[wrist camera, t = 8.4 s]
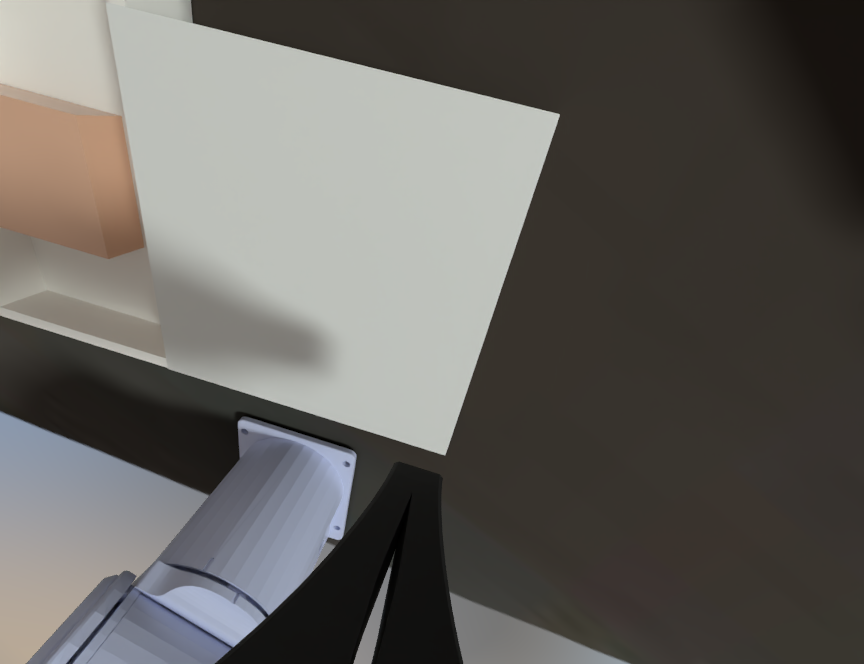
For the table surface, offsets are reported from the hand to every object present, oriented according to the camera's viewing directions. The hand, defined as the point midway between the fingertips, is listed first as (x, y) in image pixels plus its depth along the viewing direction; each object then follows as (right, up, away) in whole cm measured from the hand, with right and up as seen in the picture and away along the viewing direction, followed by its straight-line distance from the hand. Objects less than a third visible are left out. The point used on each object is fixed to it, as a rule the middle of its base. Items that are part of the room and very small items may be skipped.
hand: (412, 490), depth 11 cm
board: (-3, +9, +7) cm, 12 cm away
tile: (-17, +11, +6) cm, 21 cm away
